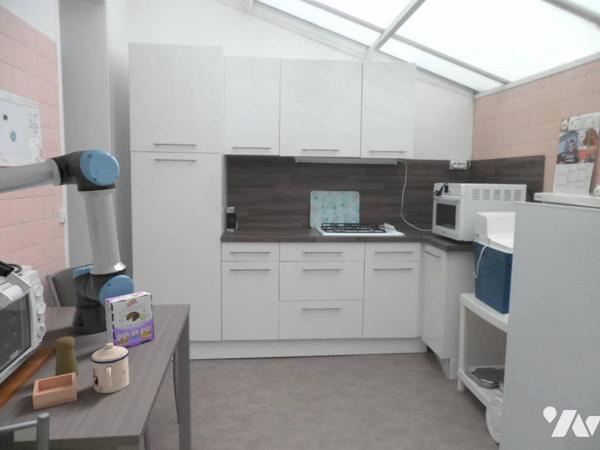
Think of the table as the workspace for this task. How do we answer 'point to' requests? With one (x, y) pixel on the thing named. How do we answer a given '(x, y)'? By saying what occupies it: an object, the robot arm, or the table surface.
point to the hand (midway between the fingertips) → (19, 296)
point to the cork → (65, 356)
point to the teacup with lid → (110, 368)
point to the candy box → (129, 319)
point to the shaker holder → (54, 390)
